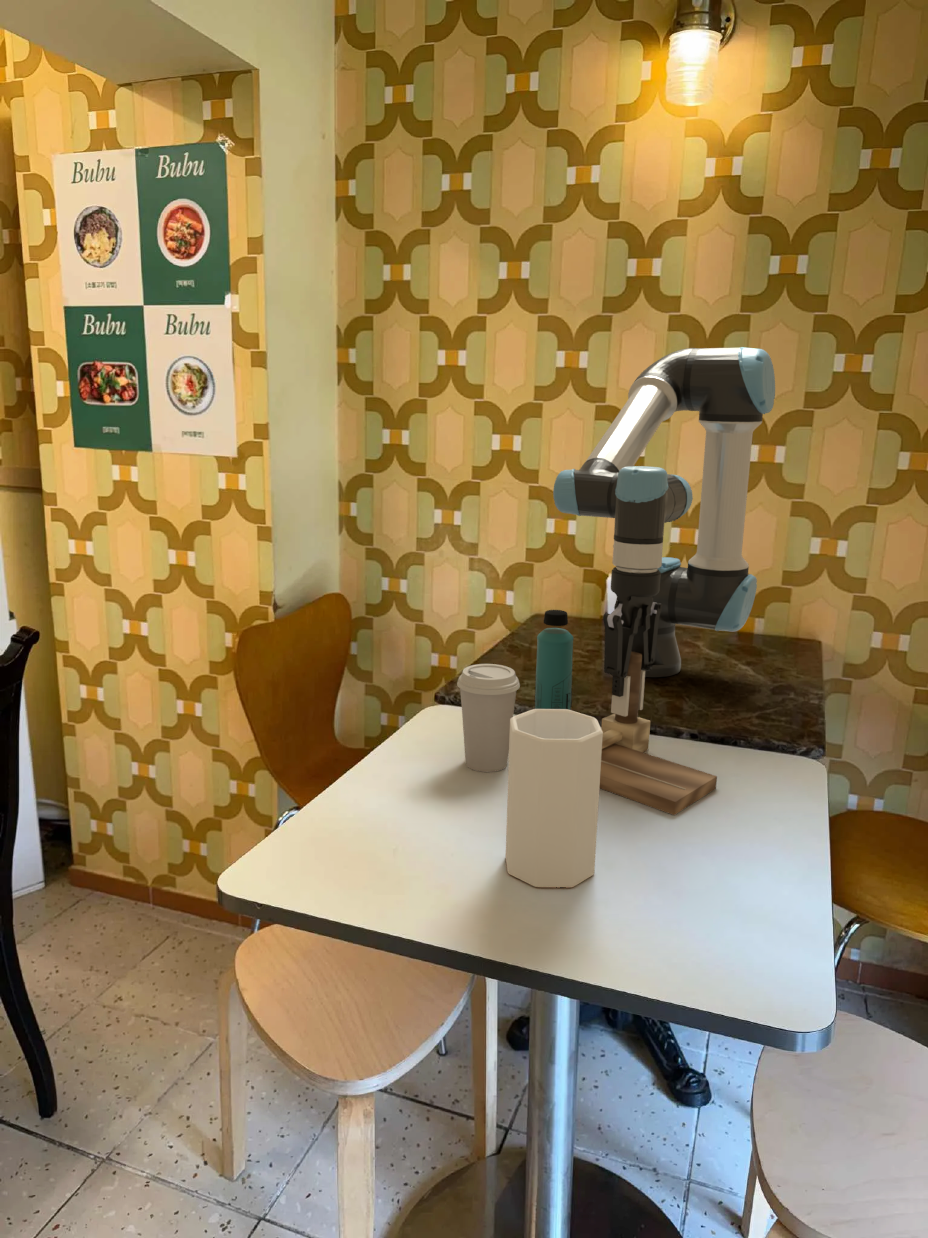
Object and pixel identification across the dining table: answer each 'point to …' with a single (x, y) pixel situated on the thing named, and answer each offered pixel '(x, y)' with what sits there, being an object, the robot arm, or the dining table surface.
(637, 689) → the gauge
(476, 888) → the dining table surface
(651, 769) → the board
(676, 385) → the robot arm
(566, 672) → the beverage bottle
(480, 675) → the coffee cup
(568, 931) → the dining table surface
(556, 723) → the cup
